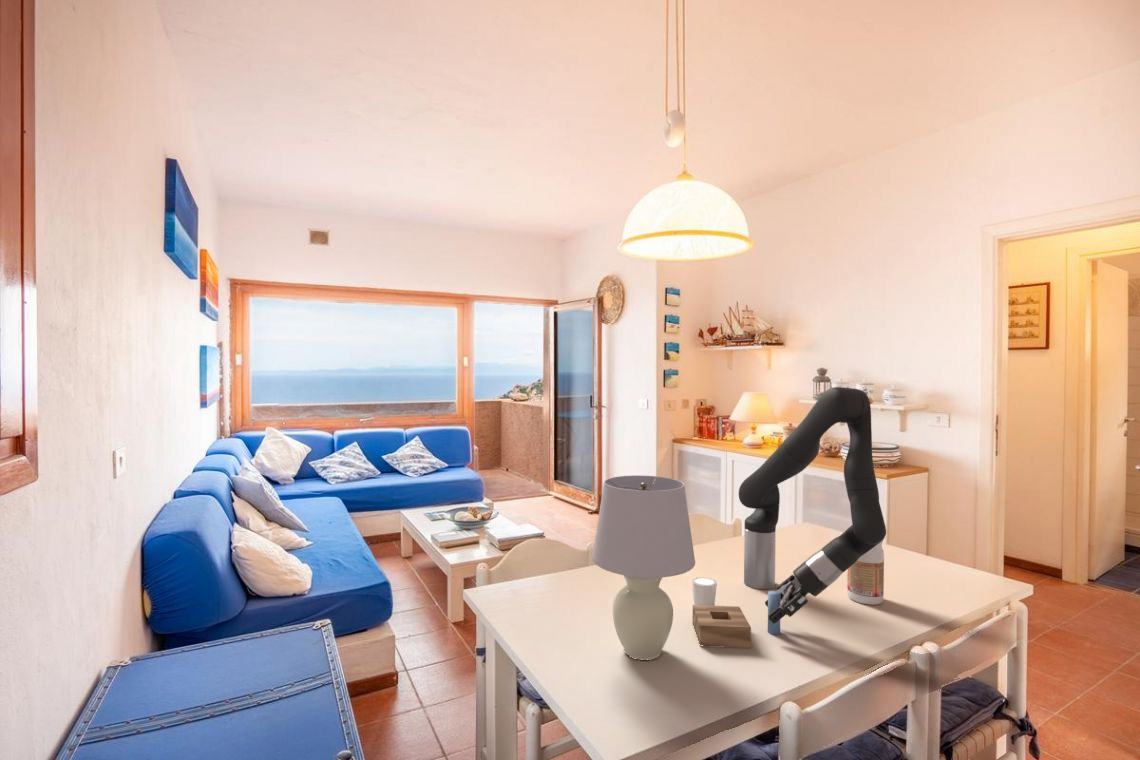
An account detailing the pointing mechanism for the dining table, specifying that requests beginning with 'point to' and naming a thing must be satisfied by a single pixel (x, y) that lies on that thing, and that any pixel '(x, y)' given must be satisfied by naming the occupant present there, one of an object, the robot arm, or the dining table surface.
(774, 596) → the peg
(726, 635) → the hole block
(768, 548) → the robot arm
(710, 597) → the white cup
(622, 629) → the lamp
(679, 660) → the dining table surface
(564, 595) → the dining table surface
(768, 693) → the dining table surface
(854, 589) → the fruit juice
